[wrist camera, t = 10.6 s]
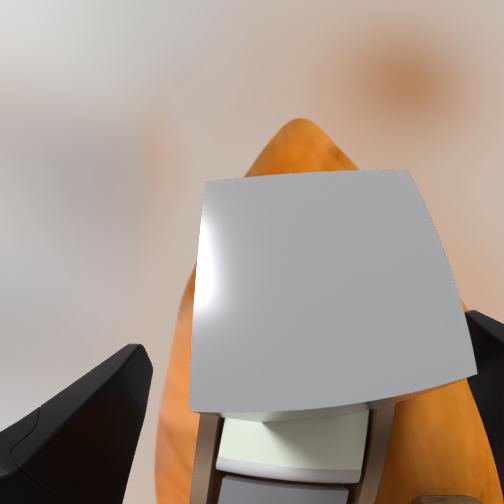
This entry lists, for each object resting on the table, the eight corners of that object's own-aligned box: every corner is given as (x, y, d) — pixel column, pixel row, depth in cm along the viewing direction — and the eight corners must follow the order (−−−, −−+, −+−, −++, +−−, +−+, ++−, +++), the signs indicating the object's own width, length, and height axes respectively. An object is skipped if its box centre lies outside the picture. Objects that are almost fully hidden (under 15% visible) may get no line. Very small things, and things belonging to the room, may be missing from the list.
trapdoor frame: (347, 518, 14) (357, 550, 10) (208, 503, 16) (186, 531, 12) (379, 333, 20) (402, 323, 15) (233, 321, 21) (216, 308, 17)
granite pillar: (344, 415, 14) (477, 374, 4) (261, 422, 15) (189, 411, 4) (337, 339, 17) (408, 170, 6) (259, 346, 17) (205, 181, 6)
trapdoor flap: (335, 528, 13) (344, 547, 9) (217, 516, 14) (203, 531, 11) (360, 344, 20) (373, 328, 17) (250, 335, 21) (243, 317, 18)
